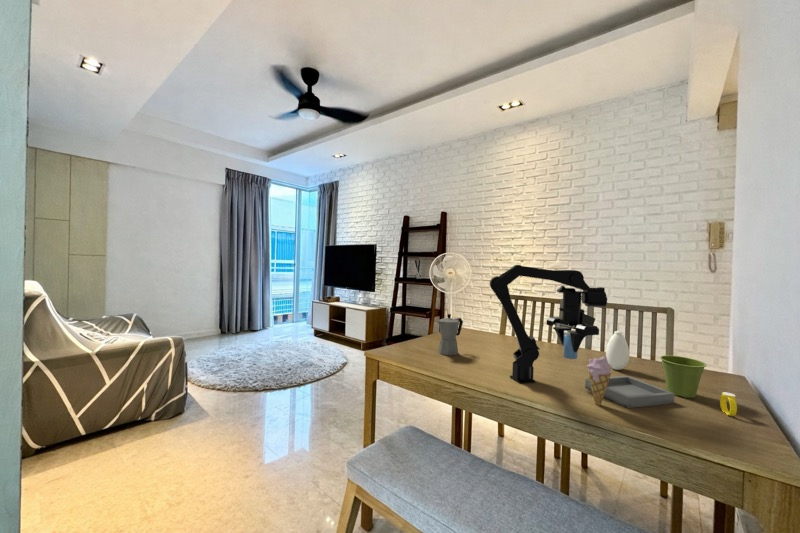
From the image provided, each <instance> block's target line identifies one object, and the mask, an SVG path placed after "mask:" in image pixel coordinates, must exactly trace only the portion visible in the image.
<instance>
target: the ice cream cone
mask: <svg viewBox="0 0 800 533" xmlns="http://www.w3.org/2000/svg"><path fill="white" fill-rule="evenodd" d="M588 362H589V363H588V364H587V365H586V368H587V373H588V379H589V381H590V385H591V390H592V391H591V390H590V391H591V393H592V397H593V401H594V404H595V406H599V407H601V405H602V402H603V399H604V398H605V397H604V395H605V392H606V389H607V386H608V383H609V379H610V377H611V369H612V366H611V365H610V364H609V363H608V361H607V357H606V355H603V356H601V357H600V358H597V357H595V358H590V359H588Z"/></svg>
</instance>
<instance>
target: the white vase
mask: <svg viewBox="0 0 800 533" xmlns="http://www.w3.org/2000/svg"><path fill="white" fill-rule="evenodd" d="M605 349H606V350H605V357H606V358H607V361H608V364H610V365H611V369H614V370H616V371H620V370H623V368H626V367H627V365H628V363H629V361H630V360H629V359H630V349H629V344H628V342H627V340H626V338H625V336H624V335H623V332H622V331H620V325H617V330H615V331H614V333H613V334H612V335H611V336H610V339H609V340H608V341H607V345H606V348H605Z"/></svg>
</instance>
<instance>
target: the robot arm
mask: <svg viewBox="0 0 800 533" xmlns="http://www.w3.org/2000/svg"><path fill="white" fill-rule="evenodd" d="M519 277H527V278H535V279H541V280H547V281H552V282H555V283H559V284H561V286H560V287H559V288H557V289H556V292H557V293H562V307H559V312H561V314H562V317H560V316H553V317H552V316H549V317H547V319H546V325H547V326H549V327H552V329H553V330H554V331H555V333H556V335H557V337H558V338H559V341H560V342H561V345H562V347H564V330H572V329H573V330H574V331H575V332H570V335H571V341H572V346H573V350H574V352H577V353H578V351H579V349H580V347H581V344H582V342H583V341H584V339H585V337H587V336H599V335H600V329H599V327H598V325H594V324H595V321H596V318H595V317H593V316H591V315H588V314H585V309H583V308H582V304H584V305H585V307H591V308H592V307H593V308H597V307H598V308H605V307H606V306H607V304H608V297H607V293H606V291H605V287H602V286H601V287H600V286H599V287H597V286H596V287H590V286H589V285H588V284H587V282H586V281H585V280H584V279H585V277H584V274H583V273H582V272H581V271H580V270H575V269H558V270H556V269H555V270H553V269H552V270H551V269H546V268H539V267H531V266H524V265H520V264H514V265H513V266H512V267H510V269H508V270H507V271H504V272H503V273H502V274H500V275H496V276H495V275H494V276H492V277H491V279H490V280H489V282H488V283H489V287H490V289H491V290H492V292H493V293H494V295H495V296H496V297H497V299H498V300H499V302H500V304H501V306H502V308H503V309H504V313H505V315H506V317H507V319H508V321H509V323H510V325H511V328H512V329H513V332H514V334H515V337H516V342H517V345H518V349H517V350H515V351H514V352H513V353H512V355H513V358H514V361H512V373H511V374H512V375H509V378H511V379H513V380H514V381H515V382H517V383H519V384H525V383H536V380H535V379H534V372H535V371H534V369H535V368H534V362H535V361H536V360H537V359H538V358H539V357H540V352H539V351H540V347H539V346H538V345H537V341H536V338H535V337H534V336H533V335H532V334H530V335H529V334H528V333H527V331H526V329H525V328H524V325H523V322H522V321H521V318H520V315H519V313H518V312H517V310H516V308H515V305H514V304H513V301H512V298H511V295H510V294H511V293H510V290H509V286H508V285H510V284H511V283H513V282H514V281H515V280H516V279H517V278H519ZM564 285H565V286H564ZM566 286H568V287H566ZM576 289H578V290H576ZM579 290H580V291H579ZM581 290H582V291H581Z"/></svg>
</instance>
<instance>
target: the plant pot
mask: <svg viewBox="0 0 800 533" xmlns="http://www.w3.org/2000/svg"><path fill="white" fill-rule="evenodd" d="M659 359H660V361H661V362H662V367H663V372H664V373H663V374H664V378H665V385H666V390H667V391H669V392H672V393H675V395H674V396H675V397H676V396H680V397H682V398H686V399H693V398H696V396H697V393H698V389H699V384H700V382H701V378H702V374H703V373H704V370H705V368H706V367H707V365H708V364H707V363H705V362H703V361H701V360H699V359H695V358H690V357H685V356H680V355H666V354H664V355H660V356H659Z"/></svg>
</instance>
